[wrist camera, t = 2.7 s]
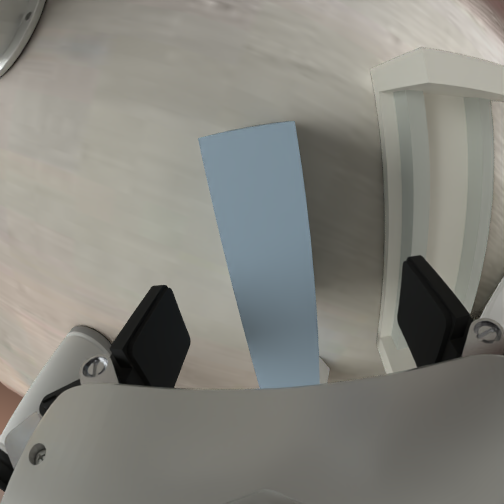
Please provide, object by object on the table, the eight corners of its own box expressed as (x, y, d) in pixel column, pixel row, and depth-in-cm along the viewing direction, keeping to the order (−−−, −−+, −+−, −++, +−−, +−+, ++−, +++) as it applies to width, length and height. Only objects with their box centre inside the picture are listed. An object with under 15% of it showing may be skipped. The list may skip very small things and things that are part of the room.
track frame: (369, 69, 14) (421, 47, 7) (475, 80, 12) (539, 79, 6) (376, 344, 23) (396, 406, 17) (456, 325, 22) (487, 375, 15)
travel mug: (123, 342, 25) (40, 516, 7) (114, 373, 28) (50, 516, 10) (72, 312, 24) (-29, 464, 6) (70, 347, 27) (-6, 478, 9)
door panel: (235, 129, 16) (198, 138, 8) (283, 121, 16) (294, 120, 8) (266, 294, 21) (261, 391, 13) (306, 289, 21) (319, 386, 13)
